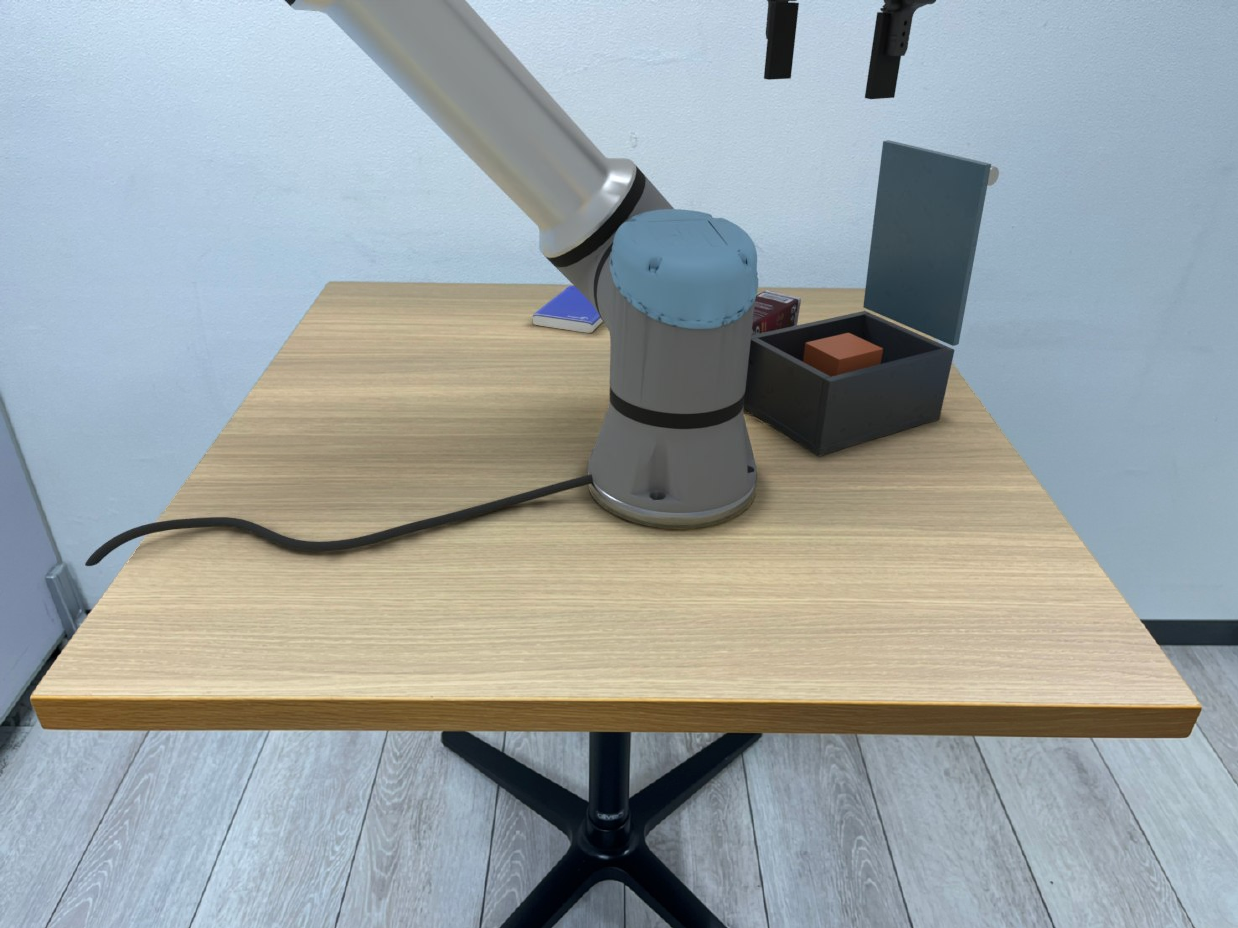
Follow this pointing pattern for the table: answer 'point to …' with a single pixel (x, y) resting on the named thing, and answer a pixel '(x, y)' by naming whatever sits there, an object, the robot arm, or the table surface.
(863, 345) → the reddish-orange cube block
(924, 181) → the box lid
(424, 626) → the table surface
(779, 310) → the supplement box
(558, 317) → the blue book
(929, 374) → the black box
